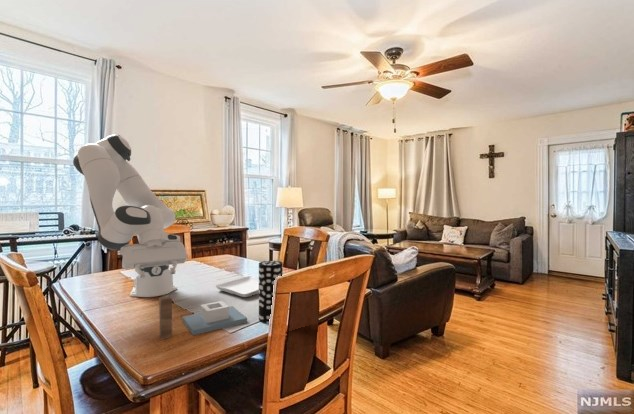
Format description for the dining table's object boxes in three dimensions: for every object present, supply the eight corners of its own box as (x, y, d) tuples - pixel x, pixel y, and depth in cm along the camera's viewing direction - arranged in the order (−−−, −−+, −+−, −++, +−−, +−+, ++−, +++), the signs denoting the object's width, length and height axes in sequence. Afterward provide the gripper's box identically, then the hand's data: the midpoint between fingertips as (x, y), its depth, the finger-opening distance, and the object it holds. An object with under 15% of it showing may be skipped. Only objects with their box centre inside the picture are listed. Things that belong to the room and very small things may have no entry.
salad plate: (244, 301, 129) (244, 293, 129) (214, 292, 142) (214, 284, 142) (279, 289, 146) (279, 282, 146) (249, 282, 159) (249, 275, 159)
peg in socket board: (182, 320, 108) (182, 305, 108) (232, 310, 119) (232, 295, 118) (192, 335, 97) (192, 317, 97) (247, 322, 107) (247, 306, 107)
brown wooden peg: (159, 335, 96) (159, 297, 96) (170, 333, 98) (169, 295, 98) (161, 339, 94) (161, 300, 93) (172, 336, 95) (171, 298, 95)
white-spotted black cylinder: (261, 314, 114) (261, 260, 114) (283, 314, 114) (284, 260, 114) (256, 323, 106) (256, 265, 106) (280, 323, 106) (280, 265, 105)
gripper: (120, 239, 105) (122, 274, 97) (184, 235, 117) (190, 266, 109) (119, 250, 109) (121, 284, 101) (181, 245, 121) (187, 276, 113)
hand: (158, 275), depth 105 cm, fingers open, 8 cm apart
